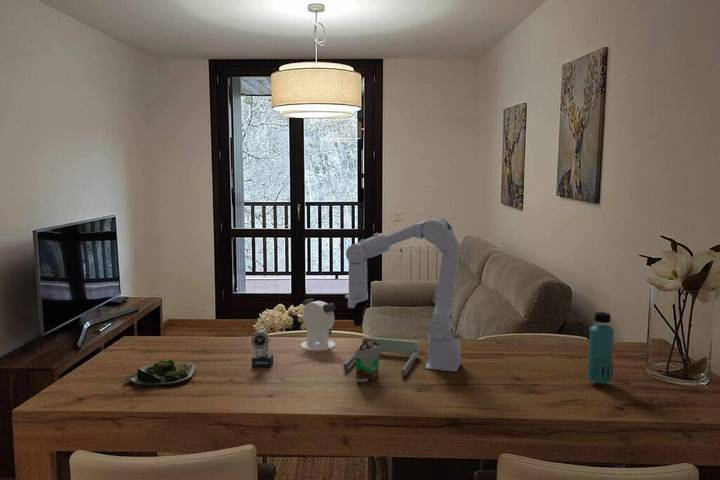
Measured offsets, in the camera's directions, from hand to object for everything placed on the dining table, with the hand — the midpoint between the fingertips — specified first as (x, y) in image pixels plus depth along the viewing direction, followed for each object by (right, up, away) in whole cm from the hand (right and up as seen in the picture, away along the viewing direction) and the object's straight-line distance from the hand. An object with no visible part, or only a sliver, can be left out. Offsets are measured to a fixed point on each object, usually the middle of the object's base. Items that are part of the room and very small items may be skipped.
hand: (358, 325), depth 186 cm
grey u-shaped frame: (+7, -11, -5) cm, 14 cm away
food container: (+4, -13, -17) cm, 21 cm away
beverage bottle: (+66, -13, -21) cm, 71 cm away
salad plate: (-56, -13, -15) cm, 59 cm away
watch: (-29, -12, -6) cm, 31 cm away
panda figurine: (-13, -9, +14) cm, 21 cm away
